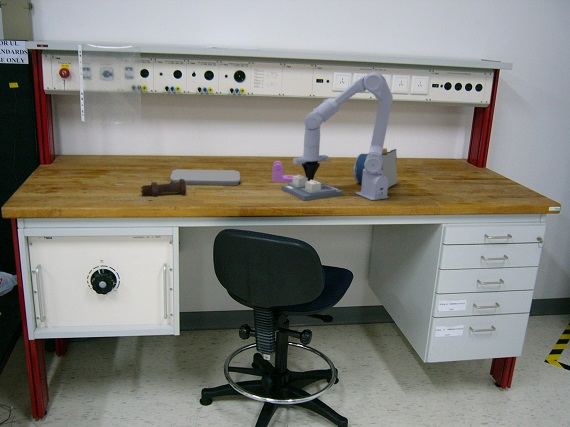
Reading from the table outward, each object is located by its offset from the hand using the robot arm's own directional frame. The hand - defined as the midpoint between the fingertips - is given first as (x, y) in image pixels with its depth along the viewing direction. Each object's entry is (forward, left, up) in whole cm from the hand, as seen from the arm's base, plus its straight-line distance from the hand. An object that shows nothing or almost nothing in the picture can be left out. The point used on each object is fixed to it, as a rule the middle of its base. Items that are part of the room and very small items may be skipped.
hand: (309, 181), depth 211 cm
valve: (-5, -27, -3) cm, 28 cm away
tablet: (+27, +30, -4) cm, 40 cm away
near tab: (-8, +4, -1) cm, 9 cm away
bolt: (+15, +51, -3) cm, 54 cm away
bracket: (+14, 0, -3) cm, 15 cm away
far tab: (0, +4, -1) cm, 4 cm away
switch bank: (-4, +2, -3) cm, 5 cm away
